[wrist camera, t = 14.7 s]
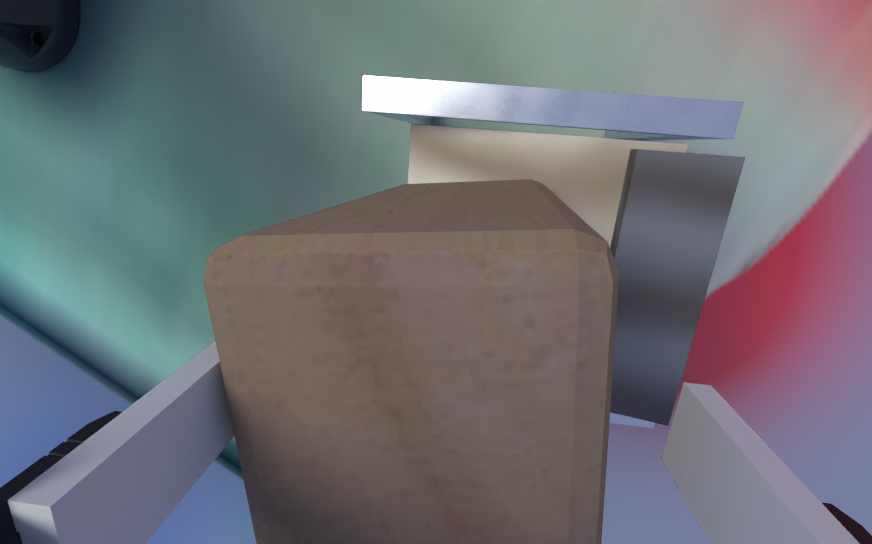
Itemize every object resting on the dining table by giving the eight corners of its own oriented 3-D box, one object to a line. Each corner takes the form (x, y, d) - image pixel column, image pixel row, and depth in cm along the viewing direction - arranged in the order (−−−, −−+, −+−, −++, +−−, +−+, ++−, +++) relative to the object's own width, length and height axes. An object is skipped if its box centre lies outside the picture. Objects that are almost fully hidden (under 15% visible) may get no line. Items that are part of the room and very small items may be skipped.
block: (404, 320, 31) (247, 578, 12) (394, 183, 29) (175, 244, 10) (543, 322, 30) (606, 625, 11) (546, 177, 27) (635, 237, 8)
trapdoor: (416, 124, 30) (394, 121, 26) (721, 147, 25) (748, 147, 21) (403, 343, 35) (383, 366, 31) (654, 397, 30) (666, 432, 26)
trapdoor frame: (413, 103, 45) (362, 75, 26) (627, 119, 43) (743, 102, 24) (402, 298, 51) (355, 390, 32) (587, 318, 50) (653, 428, 31)
